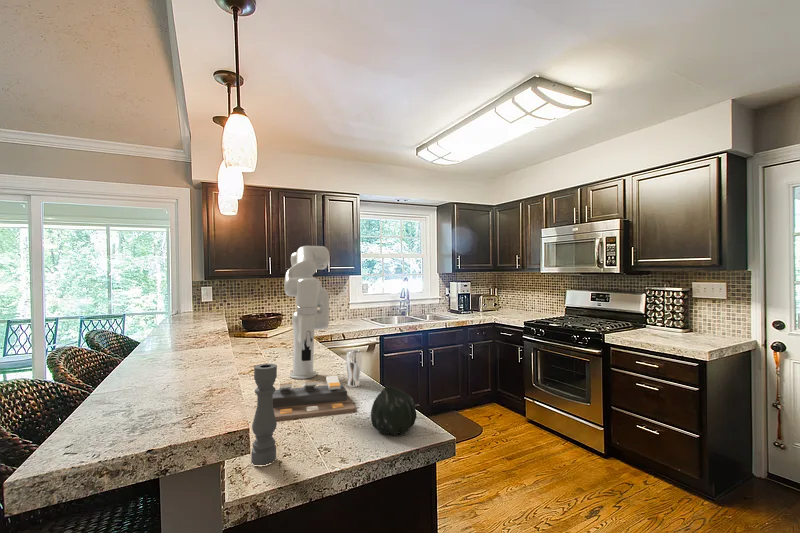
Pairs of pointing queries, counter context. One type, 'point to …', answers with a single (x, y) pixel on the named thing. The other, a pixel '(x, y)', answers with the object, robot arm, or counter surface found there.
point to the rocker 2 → (309, 384)
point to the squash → (393, 411)
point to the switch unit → (310, 402)
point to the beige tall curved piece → (353, 367)
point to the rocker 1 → (285, 386)
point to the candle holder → (264, 415)
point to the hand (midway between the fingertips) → (306, 360)
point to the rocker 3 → (333, 382)
